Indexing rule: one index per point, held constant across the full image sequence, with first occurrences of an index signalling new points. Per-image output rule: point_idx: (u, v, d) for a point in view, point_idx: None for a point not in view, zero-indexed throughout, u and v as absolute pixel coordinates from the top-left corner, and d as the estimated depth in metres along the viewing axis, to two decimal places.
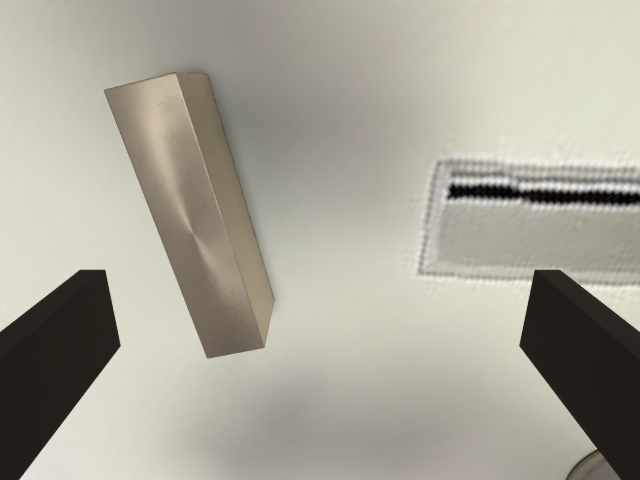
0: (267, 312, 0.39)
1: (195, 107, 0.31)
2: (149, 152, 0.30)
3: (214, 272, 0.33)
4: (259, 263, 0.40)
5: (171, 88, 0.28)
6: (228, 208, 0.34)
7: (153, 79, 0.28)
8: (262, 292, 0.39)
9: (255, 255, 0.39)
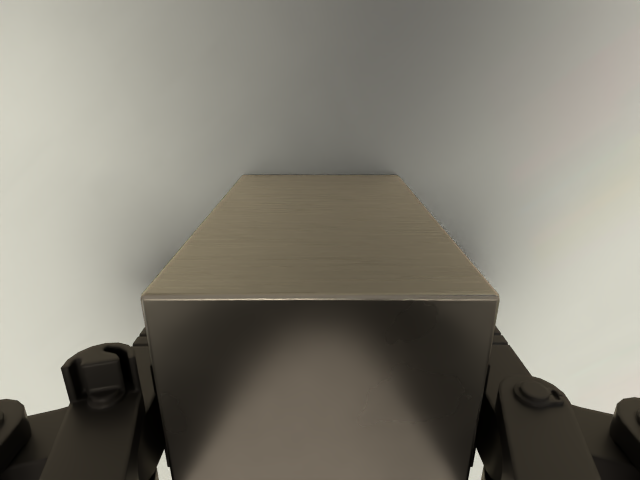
0: None
1: None
2: None
3: None
4: None
5: (448, 349, 0.06)
6: None
7: (387, 302, 0.06)
8: None
9: None
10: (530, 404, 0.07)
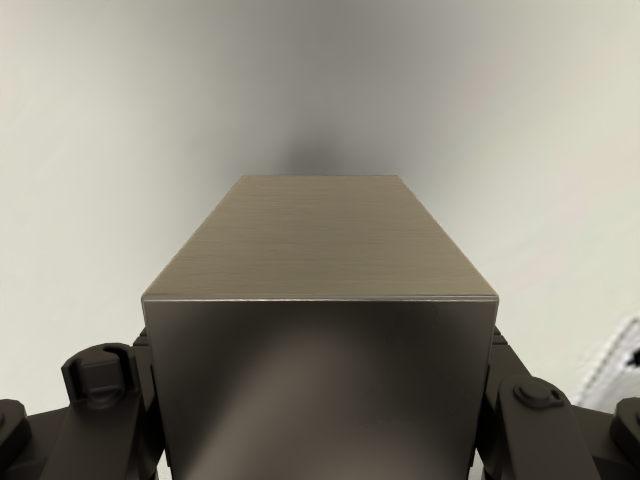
0: None
1: None
2: None
3: None
4: None
5: (448, 350, 0.06)
6: None
7: (387, 302, 0.06)
8: None
9: None
10: (531, 404, 0.07)
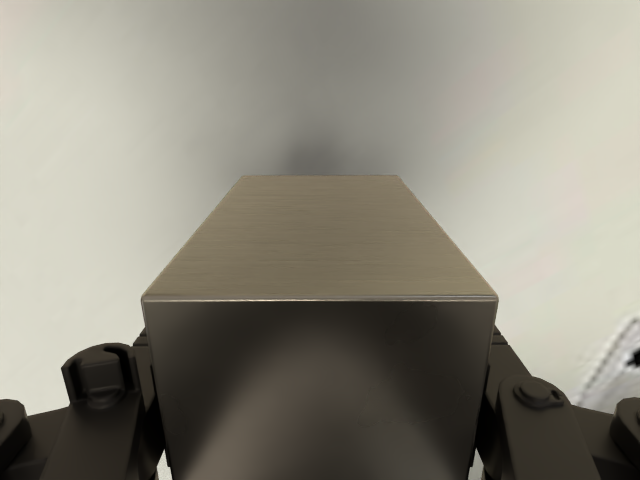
0: None
1: None
2: None
3: None
4: None
5: (448, 350, 0.06)
6: None
7: (386, 303, 0.06)
8: None
9: None
10: (530, 404, 0.07)
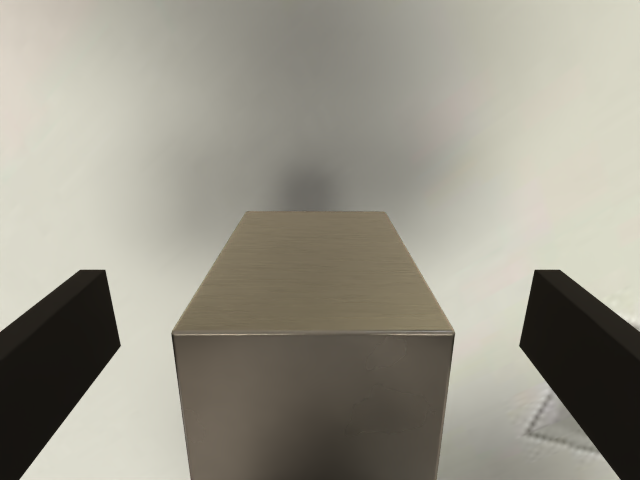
0: None
1: None
2: None
3: None
4: None
5: (416, 374, 0.08)
6: None
7: (366, 336, 0.08)
8: None
9: None
10: None
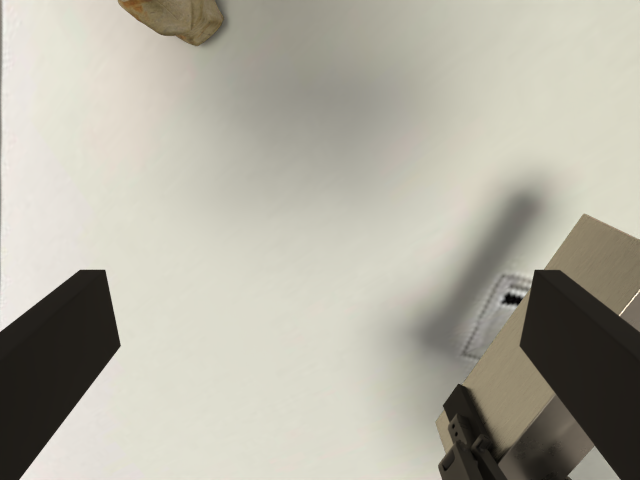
0: None
1: None
2: (637, 327, 0.26)
3: (560, 448, 0.29)
4: None
5: None
6: None
7: None
8: None
9: None
10: None
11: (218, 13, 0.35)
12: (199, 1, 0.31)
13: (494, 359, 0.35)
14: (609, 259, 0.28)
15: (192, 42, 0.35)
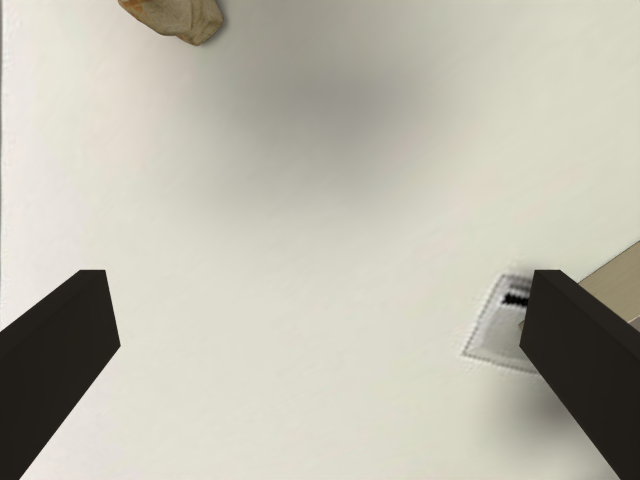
0: None
1: None
2: None
3: None
4: None
5: None
6: None
7: None
8: None
9: None
10: None
11: (218, 13, 0.35)
12: (199, 1, 0.31)
13: (593, 285, 0.46)
14: None
15: (192, 42, 0.35)
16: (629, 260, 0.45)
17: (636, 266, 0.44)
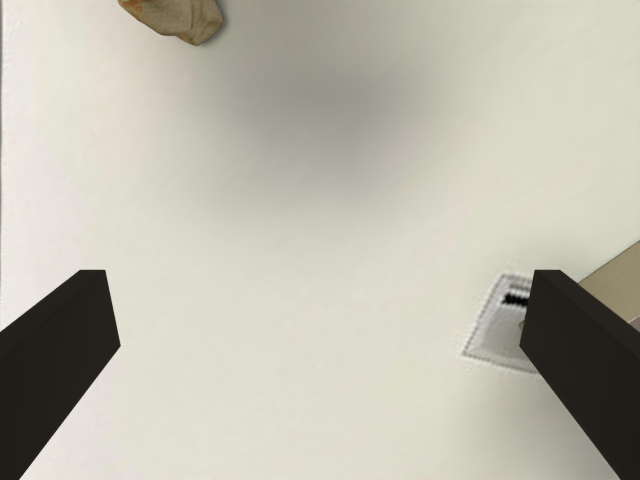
0: None
1: None
2: None
3: None
4: None
5: None
6: None
7: None
8: None
9: None
10: None
11: (218, 13, 0.35)
12: (199, 1, 0.31)
13: (593, 285, 0.46)
14: None
15: (192, 42, 0.35)
16: (629, 260, 0.45)
17: (636, 266, 0.44)
